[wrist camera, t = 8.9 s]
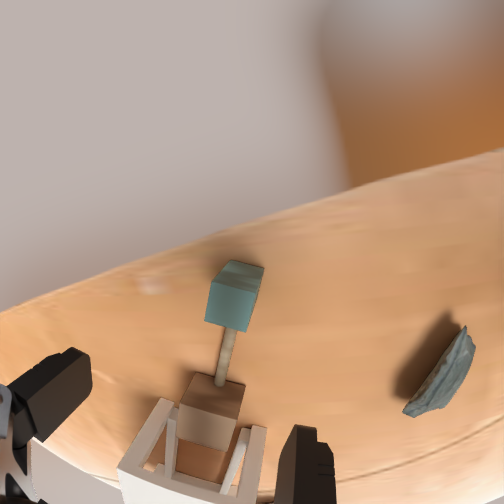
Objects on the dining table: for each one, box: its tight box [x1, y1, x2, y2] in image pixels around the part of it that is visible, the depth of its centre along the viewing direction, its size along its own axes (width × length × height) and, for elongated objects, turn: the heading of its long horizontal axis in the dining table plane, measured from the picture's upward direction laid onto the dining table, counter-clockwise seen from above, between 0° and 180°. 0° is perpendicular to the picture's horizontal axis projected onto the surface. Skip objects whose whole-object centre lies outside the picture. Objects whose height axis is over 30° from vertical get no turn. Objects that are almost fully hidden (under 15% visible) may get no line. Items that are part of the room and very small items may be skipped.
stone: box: [402, 325, 476, 418], centre depth 22 cm, size 11×4×10 cm
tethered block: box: [176, 260, 264, 452], centre depth 23 cm, size 5×17×6 cm, turn 167°
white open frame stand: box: [116, 398, 267, 504], centre depth 24 cm, size 12×16×11 cm
